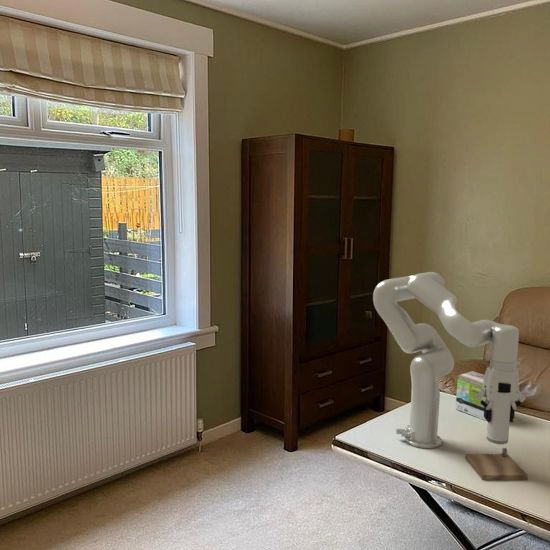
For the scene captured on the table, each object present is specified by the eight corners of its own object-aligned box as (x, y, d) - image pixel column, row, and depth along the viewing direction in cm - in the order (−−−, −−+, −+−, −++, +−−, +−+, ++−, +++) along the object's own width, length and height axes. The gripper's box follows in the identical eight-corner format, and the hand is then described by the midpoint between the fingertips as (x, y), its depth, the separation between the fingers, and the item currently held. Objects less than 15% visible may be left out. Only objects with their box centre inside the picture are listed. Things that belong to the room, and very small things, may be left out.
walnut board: (482, 479, 170) (483, 467, 169) (464, 458, 183) (465, 446, 183) (527, 479, 170) (528, 467, 170) (506, 458, 184) (507, 446, 183)
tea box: (454, 409, 225) (456, 374, 223) (469, 404, 231) (471, 370, 229) (488, 422, 213) (491, 385, 211) (502, 416, 219) (505, 380, 217)
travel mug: (481, 438, 177) (485, 377, 174) (497, 434, 180) (501, 374, 176) (496, 446, 171) (500, 383, 168) (512, 442, 174) (517, 381, 171)
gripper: (524, 361, 176) (520, 415, 179) (470, 361, 175) (466, 415, 178) (536, 369, 168) (531, 425, 171) (480, 368, 168) (476, 425, 170)
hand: (498, 420), depth 174 cm, fingers closed on travel mug, 6 cm apart
